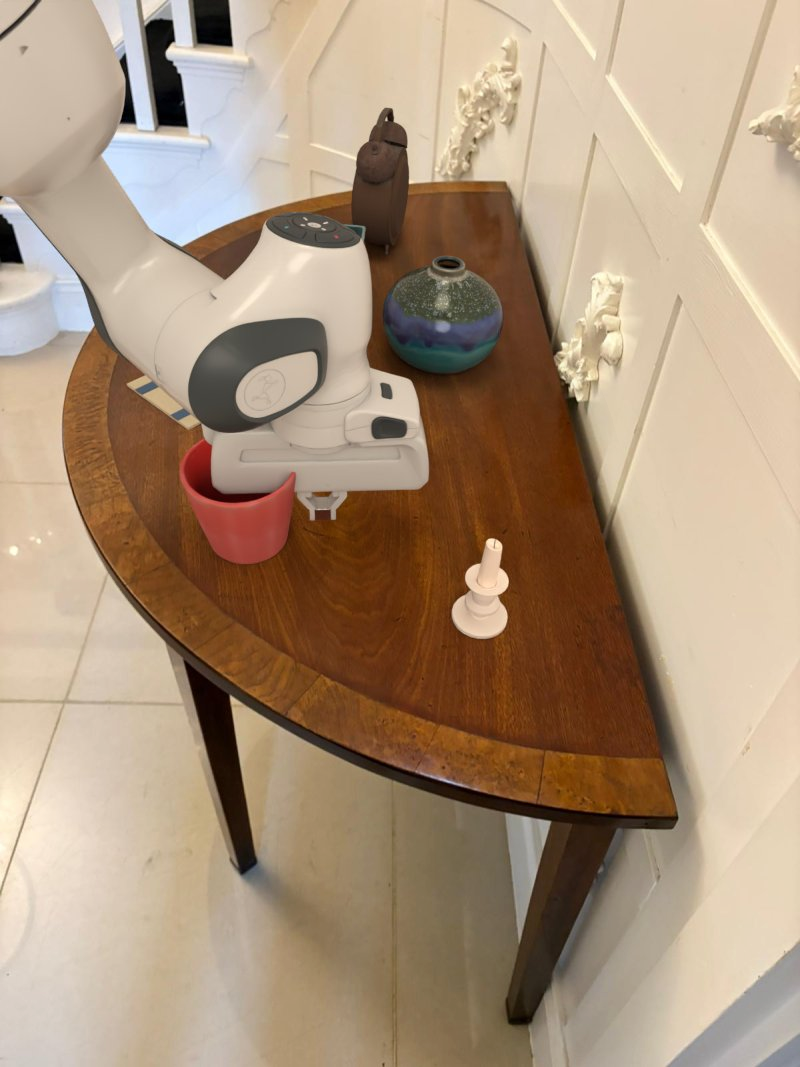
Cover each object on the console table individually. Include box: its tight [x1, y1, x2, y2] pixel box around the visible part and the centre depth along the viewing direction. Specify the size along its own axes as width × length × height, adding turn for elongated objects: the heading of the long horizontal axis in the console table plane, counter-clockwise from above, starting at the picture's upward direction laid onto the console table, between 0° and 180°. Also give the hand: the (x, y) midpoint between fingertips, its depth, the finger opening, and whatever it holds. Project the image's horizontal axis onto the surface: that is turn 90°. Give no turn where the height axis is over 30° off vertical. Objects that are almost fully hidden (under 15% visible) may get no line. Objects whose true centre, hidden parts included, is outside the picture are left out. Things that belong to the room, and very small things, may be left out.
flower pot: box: [179, 437, 296, 565], centre depth 75 cm, size 11×11×10 cm
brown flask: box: [350, 107, 410, 257], centre depth 119 cm, size 15×7×20 cm, turn 169°
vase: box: [381, 255, 504, 375], centre depth 100 cm, size 15×15×13 cm
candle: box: [451, 538, 510, 640], centre depth 70 cm, size 5×5×10 cm
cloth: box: [126, 374, 201, 431], centre depth 98 cm, size 20×12×1 cm, turn 138°
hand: (322, 516), depth 78 cm, fingers closed
